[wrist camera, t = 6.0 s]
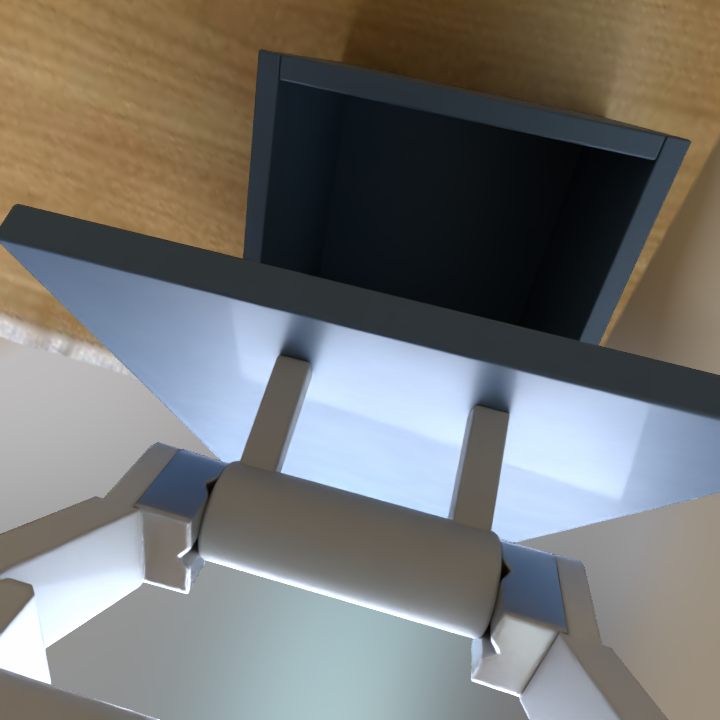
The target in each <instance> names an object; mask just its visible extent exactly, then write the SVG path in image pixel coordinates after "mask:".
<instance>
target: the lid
mask: <svg viewBox="0 0 720 720" xmlns="http://www.w3.org/2000/svg"><path fill="white" fill-rule="evenodd" d="M0 244H1V245H2V246H3V247H4V248H6V249H7V250H8V251H9V252H10V253H11V254H12V255H13V256H14V257H15V258H16V259H17V260H18V261H19V262H20V263H21V264H22V265H23V266H24V267H25V268H26V269H27V270H28V271H29V272H30V273H31V274H32V275H33V276H34V277H35V278H36V279H37V280H38V281H39V282H40V283H41V284H42V285H43V286H44V287H45V288H46V289H47V290H48V291H49V292H50V293H51V294H52V295H53V296H54V297H55V298H56V299H57V300H58V301H59V302H60V303H61V304H62V305H63V306H64V307H65V308H66V309H67V310H69V311H70V312H71V313H72V314H73V315H74V316H75V317H76V318H77V319H78V320H79V321H80V322H81V323H82V324H83V325H84V326H85V327H86V328H87V329H88V330H89V331H90V332H91V333H92V334H93V335H94V336H95V337H96V338H97V339H98V340H99V341H100V342H101V343H102V344H103V345H104V346H105V347H106V348H107V349H108V350H109V351H110V352H111V353H112V354H113V355H114V356H115V357H116V358H117V359H118V360H119V361H120V362H121V363H122V364H123V365H124V366H125V367H126V368H127V369H128V370H129V371H130V372H131V373H133V374H134V375H135V376H136V377H137V378H138V379H139V380H140V381H141V382H142V383H143V384H144V385H145V386H146V387H147V388H148V389H149V390H150V391H151V392H152V393H153V394H154V395H155V396H156V397H157V398H158V399H159V400H160V401H161V402H162V403H163V404H164V405H165V406H166V407H167V408H168V409H169V410H170V411H171V412H172V413H173V414H174V415H175V416H176V417H177V418H178V419H179V420H180V421H181V422H182V423H184V425H185V426H186V427H187V428H188V429H189V430H190V431H191V432H192V433H194V434H195V435H196V436H197V437H198V438H199V439H200V440H201V441H202V442H203V443H204V444H205V445H206V446H207V447H208V448H209V449H210V450H211V451H212V452H213V453H214V454H215V455H216V456H217V457H218V458H219V459H220V460H221V461H223V462H226V463H229V465H228V466H227V467H226V468H225V469H224V471H223V472H222V474H221V475H220V477H219V479H218V480H217V482H216V484H215V486H214V488H213V490H212V492H211V495H210V497H209V500H208V504H207V507H206V510H205V513H204V516H203V520H202V524H201V528H200V534H199V542H198V550H199V555H200V556H201V557H202V558H203V559H204V560H207V561H211V562H214V563H217V564H221V565H224V566H228V567H231V568H235V569H238V570H241V571H245V572H248V573H252V574H255V575H258V576H262V577H265V578H269V579H272V580H276V581H279V582H282V583H286V584H289V585H293V586H296V587H299V588H303V589H306V590H310V591H313V592H317V593H320V594H323V595H327V596H330V597H334V598H337V599H340V600H344V601H347V602H351V603H354V604H357V605H361V606H364V607H368V608H371V609H374V610H378V611H381V612H385V613H388V614H391V615H395V616H399V617H402V618H405V619H409V620H412V621H415V622H419V623H422V624H425V625H429V626H433V627H436V628H439V629H443V630H446V631H450V632H453V633H456V634H460V635H463V636H466V637H470V638H474V639H475V638H480V637H481V636H482V635H483V634H484V632H485V631H486V629H487V627H488V625H489V622H490V619H491V616H492V613H493V610H494V606H495V602H496V598H497V593H498V587H499V585H500V577H501V565H502V559H501V544H500V539H502V540H506V541H509V542H513V543H516V542H520V541H524V540H528V539H531V538H536V537H540V536H544V535H548V534H552V533H557V532H561V531H564V530H569V529H573V528H576V527H581V526H585V525H589V524H593V523H597V522H602V521H606V520H609V519H614V518H618V517H622V516H626V515H630V514H634V513H638V512H642V511H647V510H650V509H654V508H659V507H663V506H667V505H671V504H675V503H679V502H683V501H688V500H691V499H695V498H700V497H704V496H708V495H712V494H716V493H720V375H716V374H712V373H708V372H704V371H700V370H696V369H691V368H688V367H684V366H680V365H676V364H672V363H667V362H663V361H659V360H655V359H651V358H647V357H643V356H639V355H635V354H631V353H627V352H622V351H618V350H614V349H610V348H606V347H602V346H598V345H594V344H590V343H586V342H582V341H577V340H573V339H569V338H565V337H561V336H557V335H553V334H549V333H545V332H541V331H537V330H532V329H528V328H524V327H520V326H516V325H512V324H508V323H504V322H500V321H496V320H492V319H487V318H483V317H479V316H475V315H471V314H467V313H463V312H459V311H455V310H451V309H446V308H442V307H438V306H434V305H430V304H426V303H422V302H418V301H414V300H410V299H406V298H401V297H397V296H393V295H389V294H385V293H381V292H377V291H373V290H369V289H365V288H361V287H356V286H352V285H348V284H344V283H340V282H336V281H332V280H328V279H324V278H320V277H316V276H311V275H307V274H303V273H299V272H295V271H291V270H287V269H283V268H279V267H275V266H271V265H266V264H262V263H258V262H254V261H250V260H246V259H242V258H238V257H234V256H230V255H226V254H221V253H217V252H213V251H209V250H205V249H201V248H197V247H193V246H189V245H185V244H180V243H176V242H172V241H168V240H164V239H160V238H156V237H152V236H148V235H144V234H140V233H135V232H131V231H127V230H123V229H119V228H115V227H111V226H107V225H103V224H99V223H95V222H90V221H86V220H82V219H78V218H74V217H70V216H66V215H62V214H58V213H54V212H50V211H45V210H41V209H37V208H33V207H29V206H25V205H21V204H16V205H14V206H13V207H12V209H11V211H10V212H9V214H8V215H7V217H6V218H5V220H4V221H3V223H2V224H1V226H0Z"/></svg>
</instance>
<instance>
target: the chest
mask: <svg viewBox="0 0 720 720" xmlns="http://www.w3.org/2000/svg"><path fill="white" fill-rule="evenodd" d="M690 143H691V141H690V140H688V139H684V138H680V137H677V136H673V135H669V134H665V133H661V132H658V131H654V130H650V129H646V128H642V127H639V126H635V125H631V124H627V123H624V122H620V121H616V120H612V119H608V118H605V117H600V116H595V115H590V114H586V113H581V112H576V111H571V110H567V109H562V108H557V107H552V106H547V105H543V104H538V103H533V102H528V101H524V100H519V99H514V98H509V97H505V96H500V95H495V94H490V93H486V92H481V91H476V90H471V89H467V88H462V87H457V86H452V85H448V84H443V83H438V82H433V81H429V80H424V79H419V78H414V77H410V76H405V75H400V74H395V73H391V72H386V71H381V70H376V69H372V68H367V67H362V66H357V65H353V64H348V63H343V62H337V61H331V60H324V59H318V58H312V57H305V56H299V55H293V54H286V53H280V52H273V51H267V50H259V57H258V70H257V83H256V96H255V109H254V122H253V135H252V148H251V162H250V175H249V188H248V201H247V214H246V227H245V240H244V253H243V259H246V260H250V261H254V262H258V263H262V264H266V265H271V266H275V267H279V268H283V269H287V270H291V271H295V272H299V273H303V274H307V275H311V276H316V277H320V278H324V279H328V280H332V281H336V282H340V283H344V284H348V285H352V286H356V287H361V288H365V289H369V290H373V291H377V292H381V293H385V294H389V295H393V296H397V297H401V298H406V299H410V300H414V301H418V302H422V303H426V304H430V305H434V306H438V307H442V308H446V309H451V310H455V311H459V312H463V313H467V314H471V315H475V316H479V317H483V318H487V319H492V320H496V321H500V322H504V323H508V324H512V325H516V326H520V327H524V328H528V329H532V330H537V331H541V332H545V333H549V334H553V335H557V336H561V337H565V338H569V339H573V340H577V341H582V342H586V343H590V344H594V345H599V343H600V341H601V338H602V336H603V334H604V332H605V330H606V327H607V325H608V323H609V321H610V319H611V317H612V314H613V312H614V310H615V308H616V306H617V303H618V301H619V299H620V297H621V295H622V292H623V290H624V288H625V286H626V284H627V281H628V279H629V277H630V275H631V273H632V271H633V268H634V266H635V264H636V262H637V260H638V257H639V255H640V253H641V251H642V249H643V246H644V244H645V242H646V240H647V238H648V235H649V233H650V231H651V229H652V227H653V224H654V222H655V220H656V218H657V216H658V214H659V211H660V209H661V207H662V205H663V203H664V200H665V198H666V196H667V194H668V192H669V189H670V187H671V185H672V183H673V181H674V178H675V176H676V174H677V172H678V170H679V167H680V165H681V163H682V161H683V159H684V157H685V154H686V152H687V150H688V148H689V146H690Z"/></svg>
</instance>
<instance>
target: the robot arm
mask: <svg viewBox="0 0 720 720" xmlns="http://www.w3.org/2000/svg"><path fill="white" fill-rule="evenodd" d="M228 465H229V463H226V462H223V461H219V460H216V459H213V458H210V457H207V456H203V455H200V454H197V453H194V452H191V451H187V450H184V449H179V448H175V447H172V446H169V445H166V444H163V443H159V442H157V443H155V444H153V445H151V446H150V447H149V448H148V449H147V451H146V452H145V453H144V454H143V455H142V456H141V457H140V458H139V459H138V461H137V462H136V463H135V464H134V465H133V466H132V467H131V468H130V469H129V471H128V472H127V473H126V474H125V475H124V476H123V477H122V478H121V479H120V480H119V482H118V483H117V484H116V485H115V486H114V487H113V488H112V490H110V492H109V493H108V494H107V495H106V496H105V497H104V498H100V497H93V498H91V499H88V500H85V501H83V502H80V503H78V504H75V505H73V506H70V507H68V508H65V509H62V510H60V511H57V512H55V513H52V514H50V515H47V516H45V517H42V518H40V519H37V520H35V521H32V522H30V523H27V524H24V525H22V526H20V527H17V528H15V529H12V530H9V531H7V532H4V533H2V534H0V720H158V719H155V718H152V717H149V716H146V715H143V714H140V713H137V712H134V711H131V710H128V709H125V708H122V707H119V706H115V705H112V704H109V703H106V702H103V701H100V700H97V699H94V698H91V697H88V696H85V695H82V694H79V693H76V692H73V691H70V690H67V689H64V688H60V687H57V686H54V685H51V678H50V672H49V667H48V662H47V657H46V651H45V648H47V647H48V646H50V645H51V644H53V643H54V642H56V641H57V640H59V639H60V638H62V637H63V636H65V635H66V634H68V633H69V632H71V631H72V630H74V629H75V628H77V627H79V626H80V625H81V624H83V623H85V622H86V621H88V620H89V619H90V618H92V617H94V616H95V615H97V614H98V613H100V612H101V611H103V610H104V609H106V608H107V607H109V606H110V605H112V604H114V603H115V602H116V601H118V600H120V599H121V598H122V597H124V596H126V595H127V594H129V593H130V592H132V591H133V590H135V589H136V588H138V587H139V586H141V585H142V582H145V583H149V584H153V585H156V586H160V587H164V588H167V589H171V590H175V591H178V592H182V593H186V594H188V592H189V591H190V589H191V587H192V585H193V584H194V582H195V580H196V578H197V577H198V575H199V573H200V571H201V570H202V568H203V566H204V564H205V560H204V559H203V558H202V557H201V556H200V555H199V550H198V542H199V534H200V528H201V524H202V520H203V516H204V513H205V510H206V507H207V504H208V500H209V497H210V495H211V492H212V490H213V488H214V486H215V484H216V482H217V480H218V479H219V477H220V475H221V474H222V472H223V471H224V469H225V468H226V467H227V466H228ZM500 544H501V559H502V565H501V577H500V585H499V587H498V593H497V598H496V602H495V606H494V610H493V613H492V616H491V619H490V622H489V625H488V627H487V629H486V631H485V632H484V634H483V635H482V636H481V637H480V638H475V639H473V642H472V644H471V681H474V682H477V683H480V684H483V685H486V686H489V687H491V688H495V689H497V690H501V691H503V692H507V693H509V694H513V695H515V696H518V697H520V699H519V700H520V702H521V704H522V706H523V708H524V710H525V712H526V714H527V716H528V718H529V720H668V719H667V717H666V716H665V715H664V714H663V712H662V711H661V710H660V709H659V708H658V706H657V705H656V704H655V702H654V701H653V700H652V699H651V697H650V696H649V695H648V693H647V692H646V691H645V690H644V688H643V687H642V686H641V685H640V683H639V682H638V681H637V680H636V678H635V677H634V676H633V675H632V673H631V672H630V671H629V670H628V668H627V667H626V666H625V665H624V663H623V662H622V661H621V660H620V658H619V657H618V656H617V655H616V653H615V652H614V651H613V649H612V648H610V647H607V646H604V645H602V641H601V638H600V633H599V629H598V624H597V620H596V615H595V611H594V606H593V603H592V598H591V593H590V589H589V584H588V580H587V576H586V571H585V567H584V565H583V564H582V563H581V561H578V560H574V559H571V558H567V557H563V556H559V555H555V554H550V553H547V552H544V551H540V550H536V549H533V548H529V547H525V546H522V545H518V544H515V543H511V542H507V541H503V540H500Z"/></svg>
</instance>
